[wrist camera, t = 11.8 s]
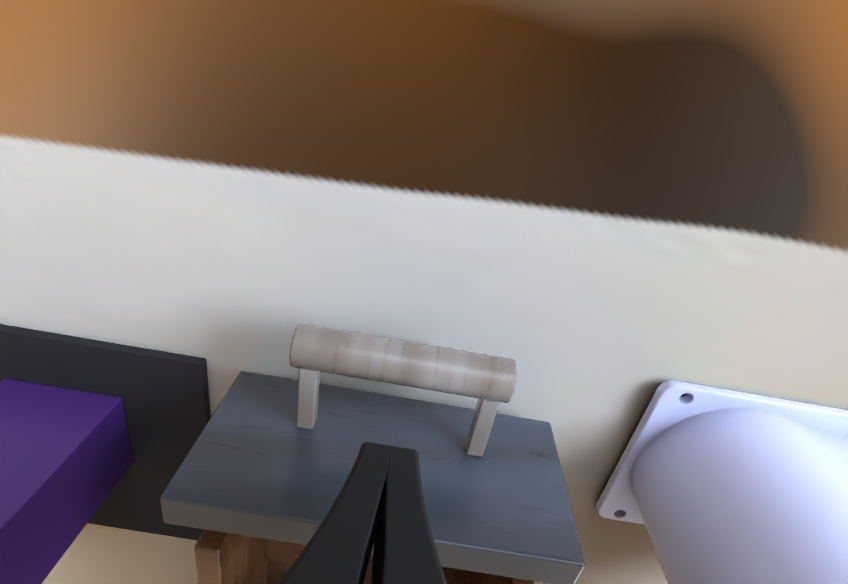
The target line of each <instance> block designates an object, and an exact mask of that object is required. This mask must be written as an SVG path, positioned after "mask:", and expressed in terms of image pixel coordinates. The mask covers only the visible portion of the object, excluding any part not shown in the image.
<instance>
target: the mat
mask: <svg viewBox="0 0 848 584" xmlns="http://www.w3.org/2000/svg"><path fill="white" fill-rule="evenodd" d="M3 379H12V380H18V381H24V382H30V383H36V384H42V385H48V386H54V387H60V388H66V389H72V390H79V391H85V392H91V393H97V394H103V395H109V396H115V397H121V398H122V402H123V407H124V412H125V417H126V422H127V428H128V433H129V438H130V443H131V448H132V453H133V459H134V462H133V463H132V465H131V466H130V467H129V469H128V470H127V471H126V472H125V474H124V475H123V476H122V478H121V479H120V480H119V482H118V483H117V484H116V486H115V487H114V488H113V490H112V491H111V492H110V494H109V495H108V496H107V498H106V499H105V500H104V502H103V503H102V504H101V506H100V507H99V508H98V510H97V511H96V512H95V513H94V515H93V516H92V517H91V519H90V520H89V521H88V523H90V524H97V525H103V526H109V527H116V528H122V529H128V530H135V531H141V532H148V533H154V534H160V535H167V536H173V537H179V538H186V539H192V540H198V539H199V537H200V535H201V534H202V532H203V530H204V529H200V528H193V527H187V526H181V525H174V524H168V523H165V522H164V519H163V513H162V507H161V501H160V497H161V495H162V494H163V492H164V490H165V489H166V487H167V486H168V484H169V483H170V481H171V480H172V478H173V476H174V475H175V473H176V472H177V470H178V469H179V467H180V465H181V464H182V462H183V461H184V459H185V458H186V456H187V455H188V453H189V451H190V450H191V448H192V447H193V445H194V444H195V442H196V441H197V439H198V437H199V436H200V434H201V433H202V431H203V430H204V428H205V426H206V425H207V423H208V422H209V420H210V408H209V395H208V382H207V368H206V359H204V358H198V357H192V356H186V355H180V354H174V353H168V352H162V351H156V350H150V349H144V348H138V347H132V346H126V345H120V344H114V343H108V342H103V341H97V340H91V339H85V338H79V337H73V336H67V335H61V334H55V333H49V332H43V331H37V330H31V329H25V328H19V327H13V326H7V325H1V324H0V382H1V381H2V380H3Z"/></svg>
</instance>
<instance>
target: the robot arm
mask: <svg viewBox="0 0 848 584" xmlns="http://www.w3.org/2000/svg"><path fill="white" fill-rule="evenodd" d="M685 393H688V394H687V395H685V396H683V397H680V396H681V395H683V394H685ZM596 508H597V511H598V514H599V515H600V516H601V517H604V518H608V519H614V520H620V521H626V522H632V523H639V524H645V526H646V528H647V531H648V533H649V536H650V538H651V541H652V544H653V546H654V549H655V551H656V554H657V556H658V559H659V562H660V564H661V567H662V569H663V572H664V574H665V577H666V580H667V582H668V584H848V410H843V409H838V408H832V407H826V406H820V405H814V404H808V403H803V402H797V401H791V400H785V399H779V398H773V397H767V396H762V395H756V394H750V393H744V392H738V391H732V390H727V389H721V388H715V387H709V386H703V385H697V384H692V383H686V382H680V381H667V382H664V383H662V384H661V385H660V386H659V387H658V388H657V390H656V392H655V394H654V396H653V398H652V400H651V401H650V403H649V405H648V407H647V409H646V411H645V413H644V415H643V417H642V419H641V420H640V422H639V424H638V426H637V428H636V430H635V432H634V434H633V436H632V438H631V439H630V441H629V443H628V445H627V447H626V449H625V451H624V453H623V455H622V457H621V458H620V460H619V462H618V464H617V466H616V468H615V470H614V472H613V474H612V476H611V477H610V479H609V481H608V483H607V485H606V487H605V489H604V491H603V493H602V494H601V496H600V498H599V500H598V502H597V505H596ZM373 544H374V548H373ZM372 548H373V561H372V574H371V584H447V582H446V579H445V576H444V573H443V570H442V566H441V563H440V560H439V557H438V553H437V549H436V546H435V542H434V538H433V534H432V530H431V526H430V522H429V518H428V514H427V509H426V505H425V500H424V494H423V489H422V482H421V475H420V465H419V453H418V452H417V451H416V450H414V449H408V448H402V447H396V446H390V445H384V444H378V443H371V442H365V443H363V444H361V448H360V451H359V454H358V456H357V458H356V461H355V463H354V465H353V468H352V470H351V472H350V474H349V476H348V478H347V480H346V482H345V484H344V485H343V487H342V489H341V491H340V493H339V494H338V496H337V498H336V500H335V501H334V503H333V505H332V506H331V508H330V510H329V511H328V513H327V515H326V516H325V518H324V520H323V521H322V523H321V524H320V526H319V527H318V529H317V530H316V532H315V533H314V535H313V536H312V538H311V539H310V541H309V542H308V544H307V545H306V547H305V548H304V550H303V551H302V553H301V554H300V555H299V557H298V558H297V560H296V561H295V562H294V564H293V565H292V567H291V568H290V569H289V571H288V572H287V573H286V575H285V576H284V577H283V579H282V580H281V581H280V582H279V584H364V581H365V577H366V573H367V569H368V565H369V561H370V557H371V553H372Z"/></svg>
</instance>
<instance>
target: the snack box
mask: <svg viewBox="0 0 848 584" xmlns="http://www.w3.org/2000/svg"><path fill="white" fill-rule="evenodd" d="M133 462H134V459H133V453H132V448H131V443H130V438H129V433H128V428H127V422H126V417H125V412H124V407H123V402H122V398H121V397H115V396H109V395H103V394H97V393H91V392H85V391H79V390H72V389H66V388H60V387H54V386H48V385H42V384H36V383H30V382H24V381H18V380H12V379H3V380H2V381H1V382H0V584H42V582H43V581H44V580H45V578H46V577H47V576H48V574H49V573H50V572H51V570H52V569H53V568H54V566H55V565H56V564H57V562H58V561H59V560H60V558H61V557H62V556H63V554H64V553H65V552H66V550H67V549H68V548H69V547H70V545H71V544H72V543H73V541H74V540H75V539H76V537H77V536H78V535H79V533H80V532H81V531H82V529H83V528H84V527H85V525H86V524H87V523H88V521H89V520H90V519H91V517H92V516H93V515H94V513H95V512H96V511H97V510H98V508H99V507H100V506H101V504H102V503H103V502H104V500H105V499H106V498H107V496H108V495H109V494H110V492H111V491H112V490H113V488H114V487H115V486H116V484H117V483H118V482H119V480H120V479H121V478H122V476H123V475H124V474H125V472H126V471H127V470H128V469H129V467H130V466H131V465H132V463H133Z"/></svg>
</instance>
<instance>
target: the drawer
mask: <svg viewBox="0 0 848 584" xmlns="http://www.w3.org/2000/svg"><path fill="white" fill-rule="evenodd" d="M290 365H291V366H292V367H296V368H299V379H298V380H293V379H287V378H281V377H275V376H269V375H263V374H257V373H251V372H245V371H241V372H240V373H239V375H238V376H237V378H236V380H235V381H234V383H233V384H232V386H231V387H230V389H229V391H228V392H227V394H226V395H225V397H224V398H223V400H222V401H221V403H220V405H219V406H218V408H217V409H216V411H215V412H214V414H213V416H212V417H211V419H210V420H209V422H208V423H207V425H206V426H205V428H204V430H203V431H202V433H201V434H200V436H199V437H198V439H197V441H196V442H195V444H194V445H193V447H192V448H191V450H190V451H189V453H188V455H187V456H186V458H185V459H184V461H183V462H182V464H181V465H180V467H179V469H178V470H177V472H176V473H175V475H174V476H173V478H172V480H171V481H170V483H169V484H168V486H167V487H166V489H165V490H164V492H163V494H162V495H161V497H160V501H161V507H162V513H163V519H164V522H165V523H168V524H174V525H181V526H187V527H193V528H200V529H204V530H203V532H202V534H201V535H200V537H199V539H198V541H197V543H196V545H195V556H196V565H197V573H198V582H199V584H279V582H280V581H281V580H282V579H283V577H284V576H285V575H286V573H287V572H288V571H289V569H290V568H291V567H292V565H293V564H294V562H295V561H296V560H297V558H298V557H299V555H300V554H301V553H302V551H303V550H304V548H305V547H306V545H307V544H308V542H309V541H310V539H311V538H312V536H313V535H314V533H315V532H316V530H317V529H318V527H319V526H320V524H321V523H322V521H323V520H324V518H325V516H326V515H327V513H328V511H329V510H330V508H331V506H332V505H333V503H334V501H335V500H336V498H337V496H338V494H339V493H340V491H341V489H342V487H343V485H344V484H345V482H346V480H347V478H348V476H349V474H350V472H351V470H352V468H353V465H354V463H355V461H356V458H357V456H358V454H359V451H360V448H361V444H363V443H365V442H371V443H378V444H384V445H390V446H396V447H402V448H408V449H414V450H416V451H417V452H418V453H419V465H420V475H421V482H422V489H423V494H424V500H425V505H426V509H427V514H428V518H429V522H430V526H431V530H432V534H433V538H434V542H435V546H436V549H437V553H438V557H439V560H440V563H441V566H442V570H443V573H444V576H445V579H446V582H447V584H534V581H536V582H542V583H549V584H575V582H576V580H577V579H578V577H579V575H580V573H581V572H582V570H583V568H584V566H585V562H584V558H583V554H582V550H581V546H580V542H579V538H578V534H577V530H576V526H575V522H574V518H573V514H572V510H571V506H570V502H569V497H568V493H567V489H566V485H565V481H564V477H563V473H562V469H561V465H560V461H559V457H558V453H557V449H556V445H555V441H554V436H553V432H552V428H551V424H550V423H549V422H544V421H538V420H532V419H526V418H520V417H514V416H508V415H502V414H496V412H497V409H498V406H499V403H500V402H505V403H507V402H509V401H510V400H511V398H512V395H513V392H514V388H515V383H516V364H515V361H514V360H513V359H508V358H502V357H496V356H490V355H484V354H478V353H473V352H467V351H461V350H455V349H449V348H443V347H437V346H432V345H426V344H420V343H414V342H408V341H402V340H396V339H391V338H385V337H379V336H373V335H367V334H361V333H355V332H350V331H344V330H338V329H332V328H326V327H320V326H314V325H309V324H303V323H301V324H299V325H298V326H297V328H296V330H295V333H294V335H293V339H292V343H291V348H290ZM320 372H326V373H332V374H338V375H344V376H350V377H356V378H362V379H368V380H374V381H380V382H386V383H392V384H398V385H404V386H409V387H415V388H421V389H427V390H433V391H439V392H445V393H451V394H457V395H463V396H469V397H475V398H479V399H478V402H477V406H476V409H475V410H473V409H467V408H461V407H455V406H449V405H443V404H437V403H431V402H425V401H419V400H413V399H407V398H401V397H395V396H389V395H383V394H377V393H371V392H365V391H359V390H353V389H347V388H341V387H335V386H329V385H323V384H320ZM373 548H374V544H373ZM373 548H372V553H371V557H370V561H369V565H368V569H367V573H366V577H365V581H364V584H371V574H372V561H373Z"/></svg>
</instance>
